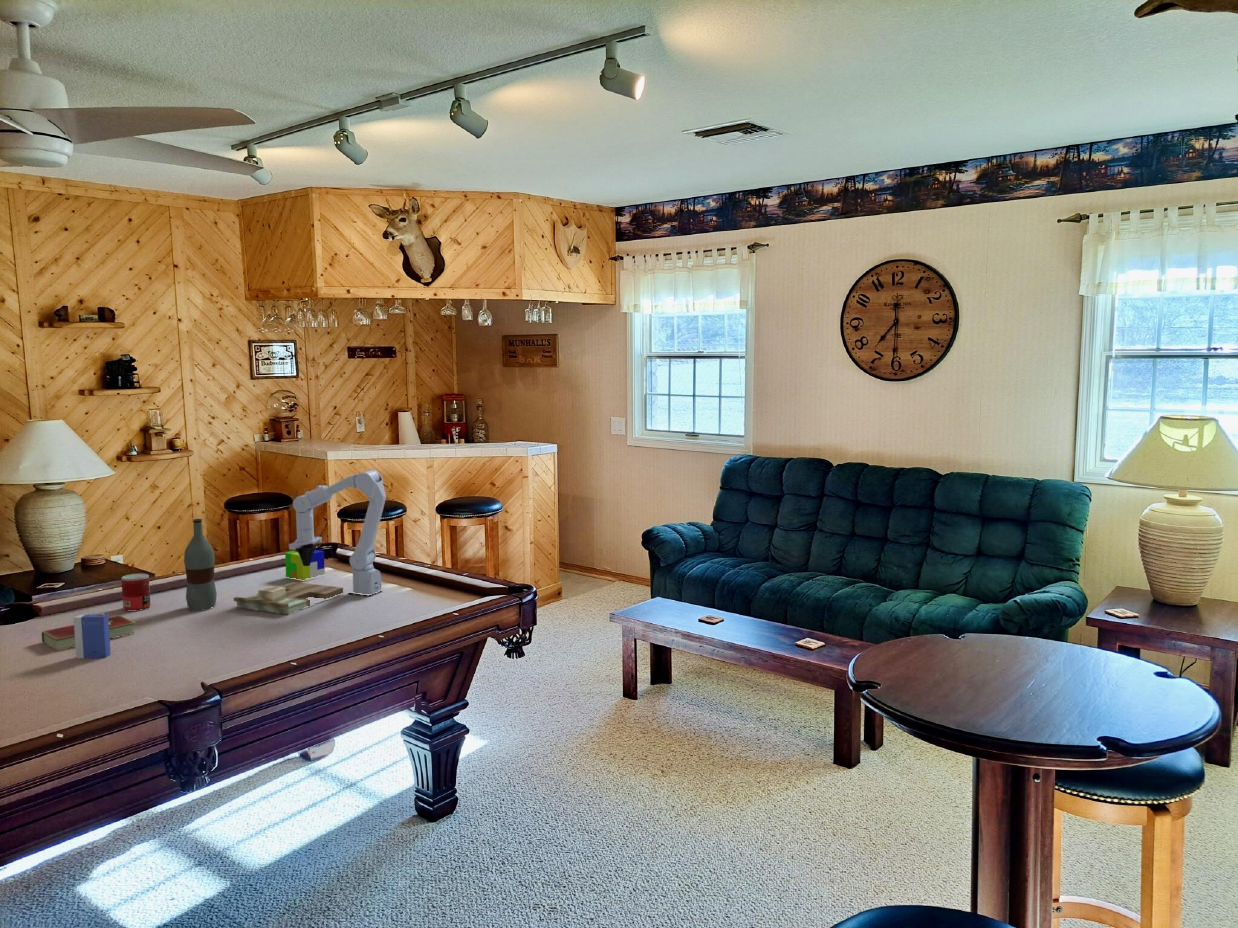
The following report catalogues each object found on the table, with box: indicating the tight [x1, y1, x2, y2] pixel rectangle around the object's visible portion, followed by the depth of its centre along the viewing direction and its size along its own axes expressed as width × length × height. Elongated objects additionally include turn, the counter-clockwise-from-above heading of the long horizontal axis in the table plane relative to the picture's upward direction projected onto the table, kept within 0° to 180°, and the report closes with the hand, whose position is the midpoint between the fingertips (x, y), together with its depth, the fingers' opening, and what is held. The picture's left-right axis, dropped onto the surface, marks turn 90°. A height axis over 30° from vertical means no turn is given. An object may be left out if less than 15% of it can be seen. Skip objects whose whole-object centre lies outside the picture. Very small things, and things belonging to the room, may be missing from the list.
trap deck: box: [233, 581, 344, 615], centre depth 293 cm, size 22×28×4 cm
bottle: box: [183, 518, 218, 611], centre depth 283 cm, size 9×9×30 cm
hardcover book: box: [41, 615, 136, 651], centre depth 252 cm, size 12×21×4 cm, turn 141°
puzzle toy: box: [284, 549, 326, 580], centre depth 326 cm, size 10×10×10 cm
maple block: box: [257, 585, 286, 602], centre depth 284 cm, size 6×6×4 cm
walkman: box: [73, 612, 112, 659], centre depth 236 cm, size 8×3×12 cm, turn 96°
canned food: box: [121, 573, 151, 611], centre depth 283 cm, size 8×8×11 cm
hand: (306, 565), depth 305 cm, fingers closed
